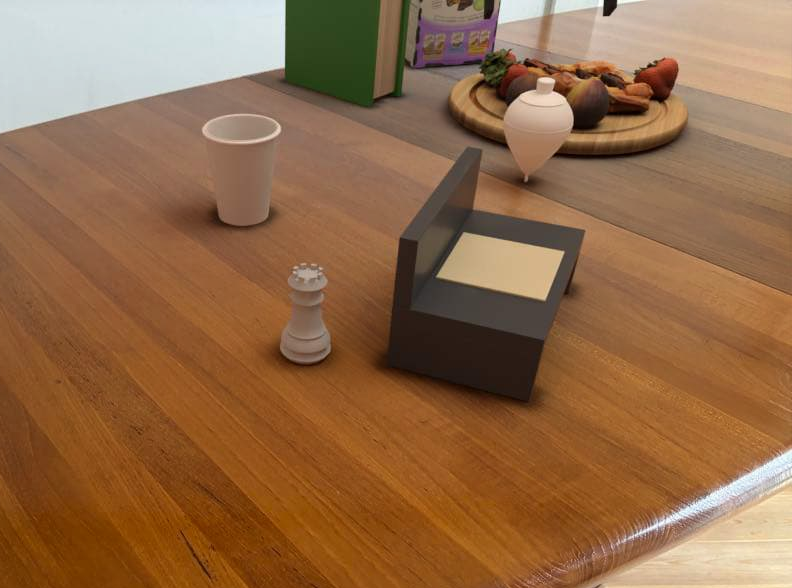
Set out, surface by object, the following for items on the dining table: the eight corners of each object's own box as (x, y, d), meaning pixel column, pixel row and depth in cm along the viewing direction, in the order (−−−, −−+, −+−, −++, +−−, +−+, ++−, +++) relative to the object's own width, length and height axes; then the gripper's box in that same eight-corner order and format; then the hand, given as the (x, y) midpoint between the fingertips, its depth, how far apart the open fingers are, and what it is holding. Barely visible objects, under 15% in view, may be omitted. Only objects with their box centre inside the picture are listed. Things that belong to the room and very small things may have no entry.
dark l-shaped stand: (571, 286, 79) (602, 167, 72) (529, 402, 65) (562, 269, 58) (449, 261, 84) (466, 146, 76) (385, 365, 70) (399, 237, 62)
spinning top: (520, 199, 95) (541, 94, 87) (480, 175, 100) (496, 74, 93) (572, 187, 97) (598, 83, 90) (530, 164, 103) (551, 65, 95)
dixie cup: (197, 205, 95) (192, 119, 89) (265, 194, 97) (264, 109, 91) (220, 236, 89) (216, 146, 82) (291, 223, 91) (293, 134, 85)
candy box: (478, 53, 140) (495, -56, 130) (492, 63, 136) (510, -49, 125) (401, 58, 139) (411, -52, 128) (412, 68, 134) (424, -45, 124)
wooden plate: (658, 84, 126) (674, 27, 121) (711, 165, 102) (734, 98, 96) (446, 76, 131) (453, 20, 126) (448, 152, 106) (457, 87, 101)
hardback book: (401, 95, 124) (418, -89, 109) (368, 107, 120) (382, -82, 105) (317, 70, 134) (322, -101, 119) (284, 80, 130) (286, -95, 115)
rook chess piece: (334, 365, 70) (339, 283, 65) (282, 368, 70) (283, 286, 65) (326, 335, 73) (330, 256, 68) (277, 338, 73) (277, 258, 68)
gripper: (660, -166, 96) (649, 22, 98) (442, -156, 98) (435, 28, 100) (686, -208, 88) (674, -3, 90) (450, -195, 91) (443, 3, 93)
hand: (548, 13), depth 95 cm, fingers open, 13 cm apart
